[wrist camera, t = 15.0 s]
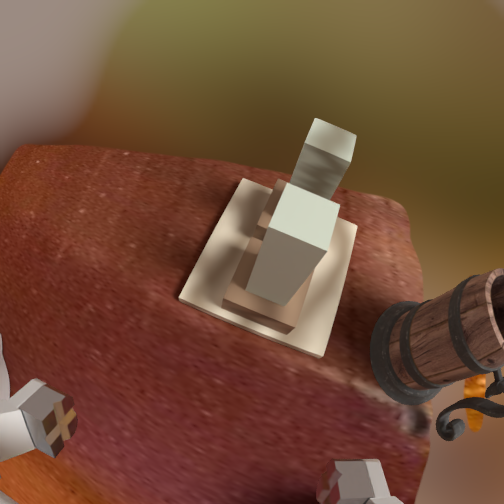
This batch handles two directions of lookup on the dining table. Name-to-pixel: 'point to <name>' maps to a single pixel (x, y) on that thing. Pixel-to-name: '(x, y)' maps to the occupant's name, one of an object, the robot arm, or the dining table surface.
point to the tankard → (443, 347)
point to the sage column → (292, 244)
